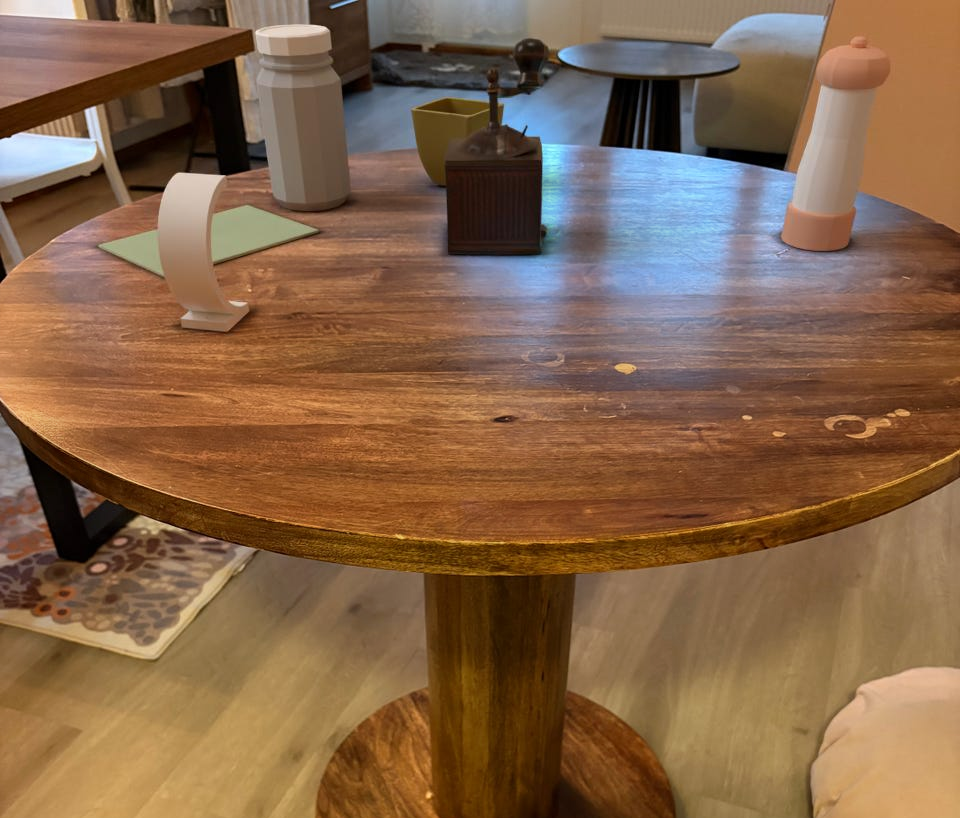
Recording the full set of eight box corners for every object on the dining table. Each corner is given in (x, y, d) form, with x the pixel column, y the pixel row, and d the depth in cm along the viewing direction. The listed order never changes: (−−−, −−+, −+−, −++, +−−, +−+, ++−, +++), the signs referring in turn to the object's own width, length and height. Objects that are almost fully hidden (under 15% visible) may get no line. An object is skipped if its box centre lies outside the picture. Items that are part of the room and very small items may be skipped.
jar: (290, 218, 109) (266, 39, 97) (262, 197, 115) (236, 27, 104) (364, 205, 113) (350, 31, 101) (333, 185, 119) (316, 20, 107)
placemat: (166, 278, 94) (166, 275, 94) (98, 247, 102) (98, 244, 101) (319, 232, 105) (318, 229, 105) (247, 207, 112) (247, 204, 112)
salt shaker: (792, 226, 106) (833, 29, 93) (856, 236, 103) (907, 34, 90) (772, 244, 101) (812, 39, 89) (838, 255, 98) (889, 45, 86)
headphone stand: (249, 311, 88) (226, 175, 80) (222, 336, 83) (194, 195, 75) (205, 307, 89) (178, 172, 81) (176, 332, 84) (143, 192, 76)
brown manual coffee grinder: (547, 255, 99) (555, 61, 87) (445, 255, 99) (439, 61, 87) (543, 211, 111) (550, 34, 99) (452, 211, 111) (448, 35, 99)
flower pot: (448, 170, 124) (446, 95, 118) (504, 179, 121) (505, 102, 115) (413, 187, 118) (409, 108, 112) (471, 196, 115) (470, 116, 109)
